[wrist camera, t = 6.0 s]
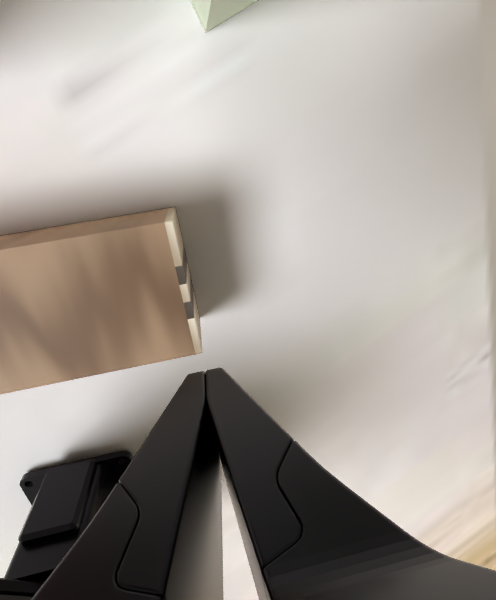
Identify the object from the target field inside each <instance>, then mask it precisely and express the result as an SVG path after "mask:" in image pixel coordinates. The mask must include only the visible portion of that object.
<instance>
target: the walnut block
mask: <svg viewBox="0 0 496 600" xmlns="http://www.w3.org/2000/svg"><path fill="white" fill-rule="evenodd" d="M200 353H202V343H201V329H200V318H199V313H198V309H197V304H196V300H195V295H194V291H193V286H192V281H191V277H190V272H189V268H188V263H187V259H186V254H185V250H184V245H183V241H182V236H181V231H180V227H179V222H178V218H177V213H176V209H175V207H172V208H166V209H160V210H154V211H148V212H142V213H136V214H129V215H123V216H117V217H111V218H105V219H99V220H93V221H87V222H81V223H75V224H69V225H63V226H57V227H51V228H45V229H39V230H32V231H26V232H20V233H14V234H8V235H2V236H0V394H4V393H9V392H14V391H19V390H24V389H29V388H34V387H38V386H43V385H48V384H53V383H58V382H63V381H68V380H73V379H78V378H83V377H87V376H92V375H97V374H102V373H107V372H112V371H117V370H122V369H127V368H131V367H136V366H141V365H146V364H151V363H156V362H161V361H166V360H171V359H175V358H180V357H185V356H190V355H195V354H200Z"/></svg>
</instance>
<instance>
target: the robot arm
mask: <svg viewBox="0 0 496 600" xmlns="http://www.w3.org/2000/svg"><path fill="white" fill-rule="evenodd" d="M121 459H125V460H121ZM220 459H221V462H220ZM221 463H222V467H223V471H224V475H225V478H226V482H227V486H228V489H229V493H230V496H231V500H232V504H233V507H234V511H235V514H236V518H237V522H238V525H239V529H240V532H241V536H242V539H243V543H244V547H245V550H246V554H247V557H248V561H249V565H250V568H251V572H252V575H253V579H254V582H255V586H256V590H257V593H258V597H259V600H496V571H495V570H491V569H488V568H484V567H481V566H478V565H474V564H471V563H467V562H464V561H461V560H457V559H454V558H451V557H449V556H446V555H444V554H442V553H440V552H437V551H436V550H434V549H432V548H430V547H428V546H426V545H425V544H423V543H421V542H420V541H418V540H417V539H415V538H414V537H412V536H411V535H410V534H408V533H407V532H405V531H404V530H403V529H401V528H400V527H399V526H398V525H396V524H395V523H394V522H392V521H391V520H390V519H388V518H387V517H386V516H385V515H383V514H382V513H381V512H379V511H378V510H377V509H375V508H374V507H373V506H372V505H370V504H369V503H368V502H366V501H365V500H364V499H362V498H361V497H360V496H358V495H357V494H356V493H355V492H353V491H352V490H351V489H349V488H348V487H347V486H345V485H344V484H343V483H342V482H341V481H339V480H338V479H337V478H336V477H334V476H333V475H332V474H331V473H329V472H328V471H327V470H326V469H324V468H323V467H322V466H321V465H320V464H319V463H318V462H317V461H316V460H315V459H314V458H313V457H311V456H310V455H309V454H308V453H307V452H306V451H305V450H304V449H303V448H302V447H301V446H300V445H299V444H298V443H297V442H296V441H294V439H293V438H292V437H291V436H290V435H289V434H288V433H287V432H286V431H285V430H284V429H283V428H282V427H281V426H280V425H279V424H278V423H277V422H276V421H275V420H274V419H273V418H272V417H271V416H270V415H269V414H268V413H267V412H266V411H265V410H264V409H263V408H262V407H261V406H260V405H259V404H258V403H257V402H256V401H255V400H254V399H253V398H252V397H251V396H250V395H249V394H248V393H247V392H246V391H245V390H244V389H243V388H242V387H241V386H240V385H239V384H238V383H237V382H236V381H235V380H234V379H233V378H232V377H231V376H230V375H229V374H228V373H227V372H226V371H225V370H224V369H223V368H215V369H211V370H207V371H206V373H205V372H203V371H202V372H197V373H192V374H189V375H187V377H186V378H185V380H184V381H183V383H182V384H181V386H180V387H179V389H178V391H177V392H176V394H175V395H174V397H173V398H172V400H171V401H170V403H169V404H168V406H167V407H166V409H165V410H164V412H163V414H162V415H161V417H160V418H159V420H158V421H157V423H156V424H155V426H154V427H153V429H152V430H151V432H150V433H149V435H148V437H147V438H146V440H145V441H144V443H143V444H142V446H141V447H140V449H139V450H138V452H137V453H136V455H135V456H134V458H133V456H132V454H131V453H130V452H128V451H120V452H116V453H111V454H107V455H103V456H98V457H94V458H90V459H85V460H81V461H77V462H72V463H68V464H64V465H59V466H55V467H51V468H46V469H42V470H38V471H33V472H29V473H26V474H25V475H24V476H23V477H22V479H21V481H20V486H21V488H22V490H23V491H24V493H25V495H26V496H27V498H28V500H29V501H30V503H31V505H32V507H31V510H30V512H29V514H28V517H27V519H26V521H25V524H24V526H23V528H22V531H21V533H20V535H19V539H18V540H19V544H18V546H17V549H16V551H15V553H14V556H13V558H12V560H11V563H10V565H9V568H8V570H7V572H6V575H5V577H4V578H0V600H223V555H222V499H221Z"/></svg>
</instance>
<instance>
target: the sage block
mask: <svg viewBox="0 0 496 600" xmlns="http://www.w3.org/2000/svg"><path fill="white" fill-rule="evenodd" d="M190 1H191V3H192V5H193V7H194V9H195V11H196V14H197V16H198V18H199V20H200V22H201V24H202V26H203V29H204V31H205V33H206V32H208V31H209V30H211V29H212V28H214V27H216V26H217V25H219V24H221V23H222V22H224V21H226V20H227V19H229V18H230V17H232V16H234V15H235V14H237V13H239V12H240V11H242V10H244V9H245V8H247V7H248V6H250V5H252V4H253V3H255V2H257V1H258V0H190Z"/></svg>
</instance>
